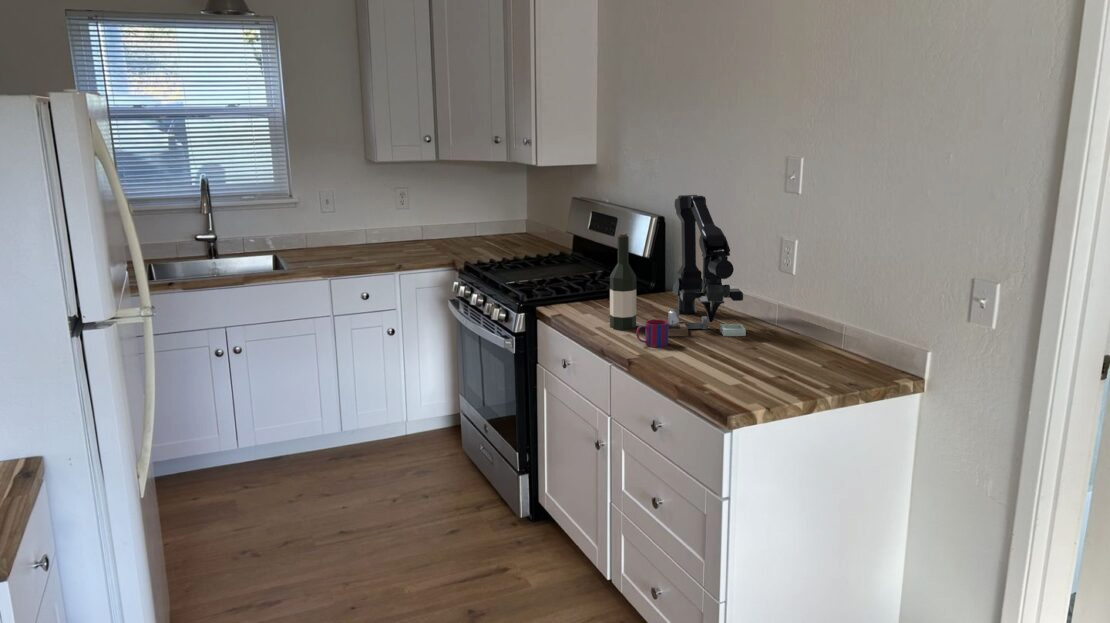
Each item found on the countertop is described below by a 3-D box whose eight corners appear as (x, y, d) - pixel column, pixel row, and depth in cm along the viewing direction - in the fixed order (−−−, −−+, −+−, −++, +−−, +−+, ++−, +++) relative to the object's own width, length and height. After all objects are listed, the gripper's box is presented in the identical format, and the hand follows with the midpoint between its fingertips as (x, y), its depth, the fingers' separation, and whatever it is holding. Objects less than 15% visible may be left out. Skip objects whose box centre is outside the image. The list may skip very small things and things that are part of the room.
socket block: (657, 327, 260) (657, 321, 259) (683, 326, 260) (683, 320, 259) (661, 336, 249) (661, 330, 249) (688, 336, 249) (688, 329, 249)
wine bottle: (636, 323, 265) (636, 231, 258) (636, 330, 257) (636, 235, 250) (610, 323, 265) (610, 232, 258) (609, 330, 257) (609, 235, 250)
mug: (671, 346, 239) (672, 323, 237) (639, 349, 236) (639, 326, 235) (663, 340, 245) (663, 318, 243) (631, 343, 242) (631, 321, 241)
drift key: (670, 327, 259) (670, 317, 258) (706, 326, 258) (706, 316, 258) (671, 329, 256) (671, 319, 255) (708, 329, 256) (708, 318, 255)
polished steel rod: (667, 332, 254) (667, 310, 252) (677, 331, 254) (678, 310, 252) (668, 334, 251) (669, 312, 249) (679, 334, 251) (679, 312, 249)
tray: (719, 330, 254) (719, 324, 254) (740, 330, 254) (741, 323, 254) (723, 336, 248) (723, 329, 248) (745, 335, 248) (745, 329, 247)
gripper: (685, 278, 245) (684, 328, 249) (747, 277, 245) (746, 327, 249) (680, 271, 256) (679, 319, 260) (740, 270, 256) (738, 318, 259)
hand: (710, 321), depth 257 cm, fingers closed
